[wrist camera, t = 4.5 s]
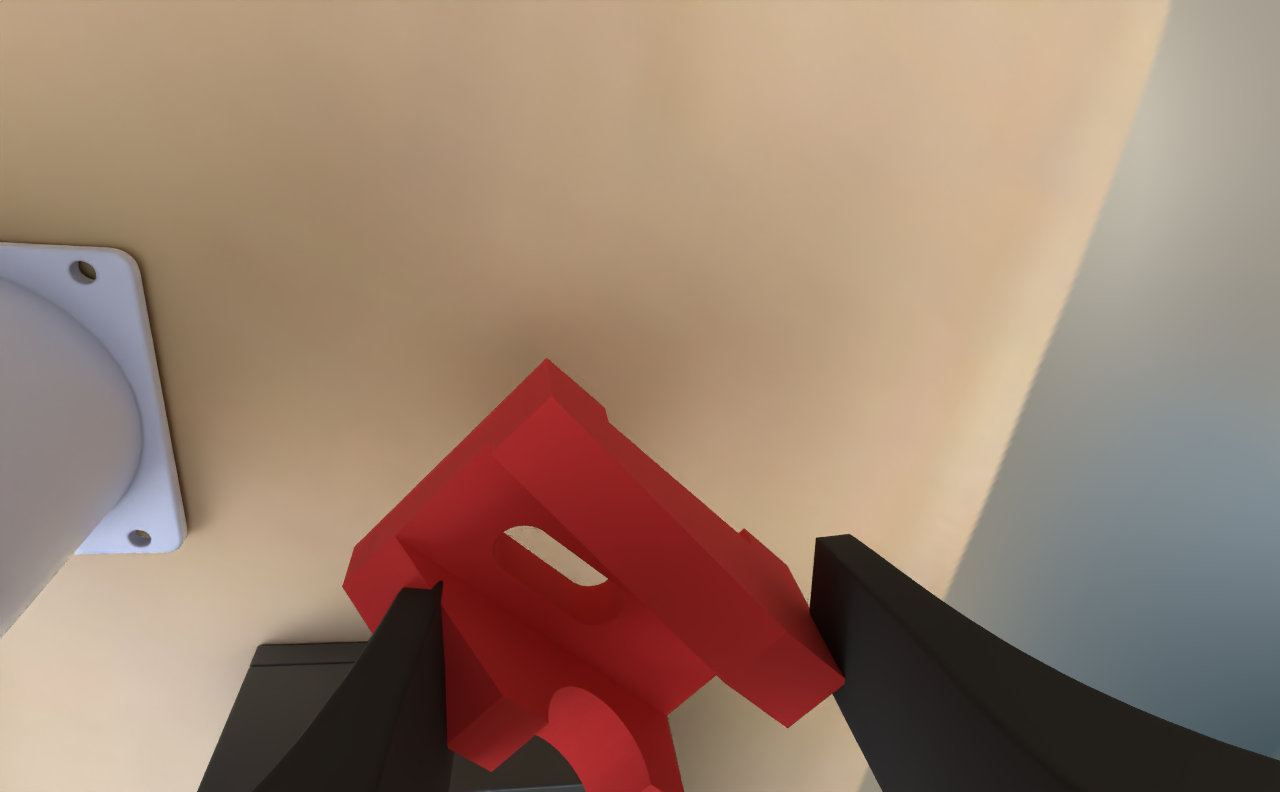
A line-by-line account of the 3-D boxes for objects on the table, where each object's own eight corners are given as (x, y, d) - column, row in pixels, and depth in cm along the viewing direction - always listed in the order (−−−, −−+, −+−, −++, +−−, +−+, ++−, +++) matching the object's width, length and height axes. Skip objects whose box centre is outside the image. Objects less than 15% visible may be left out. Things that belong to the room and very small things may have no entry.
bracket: (786, 565, 15) (848, 681, 12) (612, 711, 16) (633, 848, 13) (546, 357, 12) (556, 446, 10) (354, 546, 13) (315, 676, 11)
